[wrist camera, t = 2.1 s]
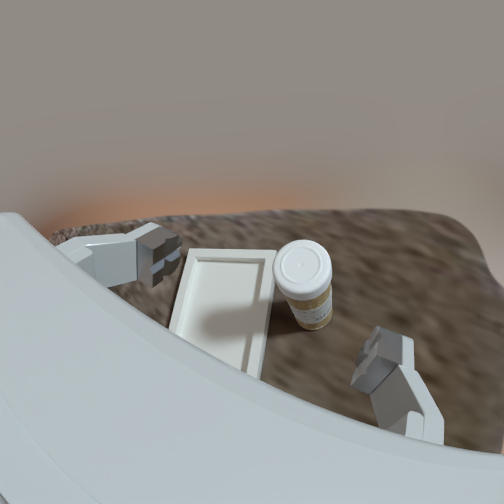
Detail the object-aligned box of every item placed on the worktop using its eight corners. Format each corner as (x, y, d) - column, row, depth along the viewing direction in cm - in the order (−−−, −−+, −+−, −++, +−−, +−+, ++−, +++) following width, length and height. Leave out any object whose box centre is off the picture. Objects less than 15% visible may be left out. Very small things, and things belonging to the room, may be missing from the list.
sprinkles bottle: (321, 288, 33) (313, 228, 22) (339, 319, 31) (343, 274, 19) (287, 305, 33) (261, 254, 22) (304, 338, 31) (286, 304, 20)
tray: (250, 436, 27) (245, 439, 25) (159, 411, 31) (151, 411, 29) (278, 256, 37) (276, 250, 35) (195, 254, 41) (189, 248, 39)
